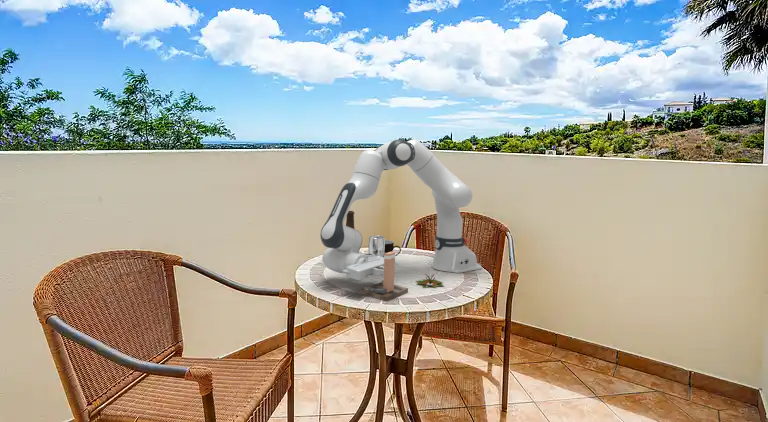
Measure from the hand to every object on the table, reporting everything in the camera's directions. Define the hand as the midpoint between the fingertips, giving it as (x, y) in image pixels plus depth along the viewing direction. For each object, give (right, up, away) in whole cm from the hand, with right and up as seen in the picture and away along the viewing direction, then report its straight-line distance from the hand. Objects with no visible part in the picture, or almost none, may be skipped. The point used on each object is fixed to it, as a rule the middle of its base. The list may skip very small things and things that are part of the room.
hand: (387, 272), depth 162 cm
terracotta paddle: (+1, -7, 0) cm, 7 cm away
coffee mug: (0, -2, +44) cm, 44 cm away
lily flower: (+17, -7, +16) cm, 25 cm away
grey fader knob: (0, -6, +7) cm, 9 cm away
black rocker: (-2, -6, -2) cm, 7 cm away
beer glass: (-5, -4, +32) cm, 32 cm away
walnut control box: (-1, -8, +3) cm, 9 cm away
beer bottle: (-17, -2, +43) cm, 46 cm away
